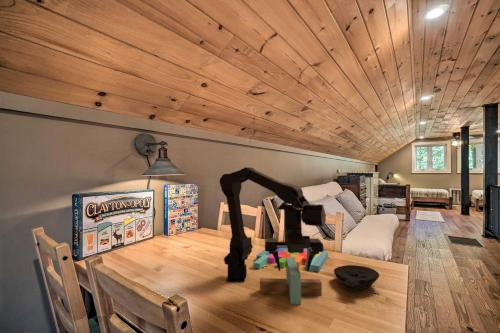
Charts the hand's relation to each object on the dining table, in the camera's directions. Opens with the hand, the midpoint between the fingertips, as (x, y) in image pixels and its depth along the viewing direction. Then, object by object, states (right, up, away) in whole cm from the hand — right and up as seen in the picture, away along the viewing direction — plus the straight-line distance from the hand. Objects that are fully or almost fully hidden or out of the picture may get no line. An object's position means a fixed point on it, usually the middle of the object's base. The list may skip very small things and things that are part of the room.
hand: (293, 270), depth 80 cm
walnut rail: (-1, -7, 0) cm, 7 cm away
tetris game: (+4, -9, +28) cm, 29 cm away
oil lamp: (+22, -7, +4) cm, 23 cm away
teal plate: (0, -7, 0) cm, 7 cm away
